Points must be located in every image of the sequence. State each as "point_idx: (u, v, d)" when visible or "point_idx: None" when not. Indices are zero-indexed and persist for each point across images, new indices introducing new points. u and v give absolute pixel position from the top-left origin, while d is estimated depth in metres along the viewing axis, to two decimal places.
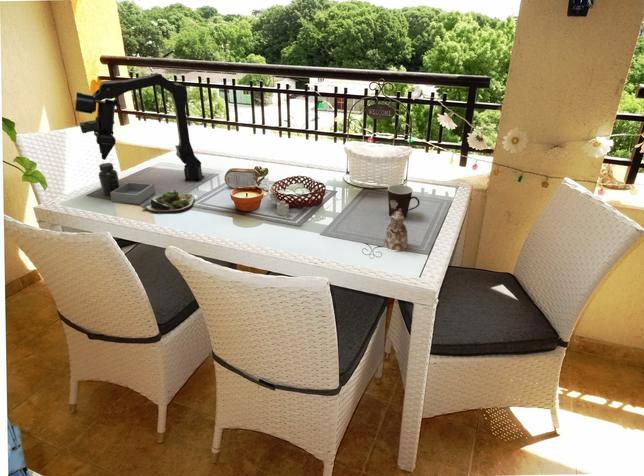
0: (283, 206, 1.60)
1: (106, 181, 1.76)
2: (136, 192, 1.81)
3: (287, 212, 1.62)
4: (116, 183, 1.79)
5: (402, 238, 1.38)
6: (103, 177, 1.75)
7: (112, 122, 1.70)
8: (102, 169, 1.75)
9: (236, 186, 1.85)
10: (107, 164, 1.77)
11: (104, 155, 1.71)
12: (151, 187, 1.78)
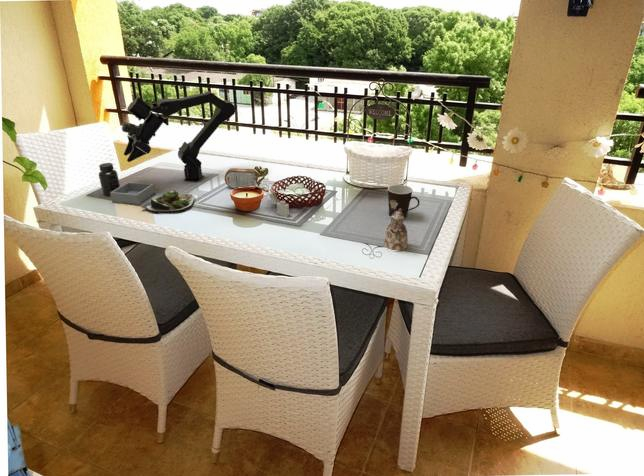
0: (283, 206, 1.60)
1: (106, 181, 1.76)
2: (136, 192, 1.81)
3: (287, 212, 1.62)
4: (116, 183, 1.79)
5: (402, 238, 1.38)
6: (103, 177, 1.75)
7: (153, 134, 1.78)
8: (102, 169, 1.75)
9: (236, 186, 1.85)
10: (107, 164, 1.77)
11: (130, 158, 1.75)
12: (151, 187, 1.78)
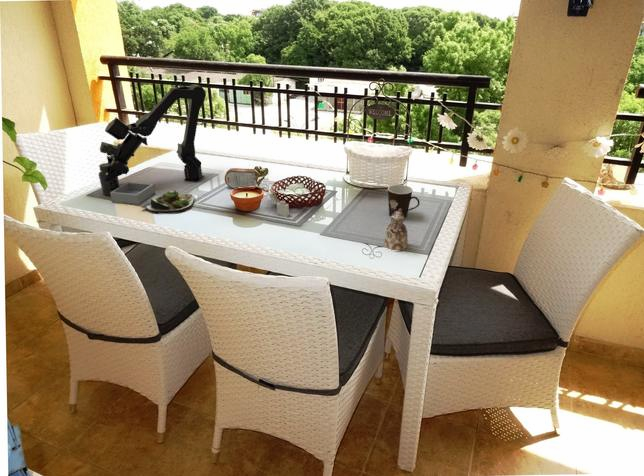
0: (283, 206, 1.60)
1: (105, 181, 1.76)
2: (136, 192, 1.81)
3: (287, 212, 1.62)
4: (116, 183, 1.79)
5: (402, 238, 1.38)
6: (102, 177, 1.75)
7: (132, 155, 1.77)
8: (102, 169, 1.75)
9: (236, 186, 1.85)
10: (107, 164, 1.77)
11: (108, 178, 1.75)
12: (151, 187, 1.78)
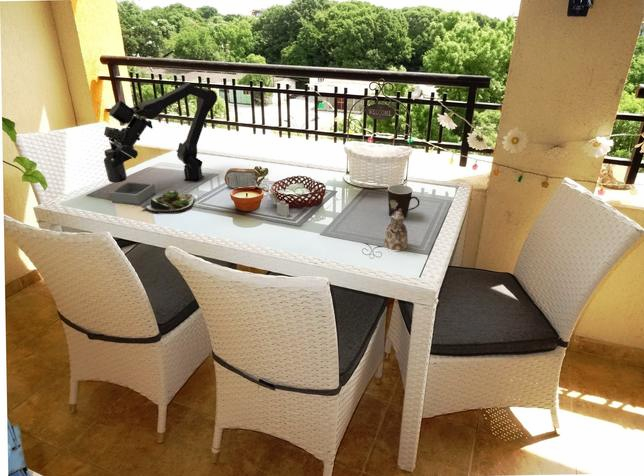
0: (283, 206, 1.60)
1: (112, 167, 1.71)
2: (136, 192, 1.81)
3: (287, 212, 1.62)
4: (123, 169, 1.74)
5: (402, 238, 1.38)
6: (109, 163, 1.70)
7: (138, 138, 1.73)
8: (108, 155, 1.70)
9: (236, 186, 1.85)
10: (112, 149, 1.71)
11: (115, 163, 1.70)
12: (151, 187, 1.78)
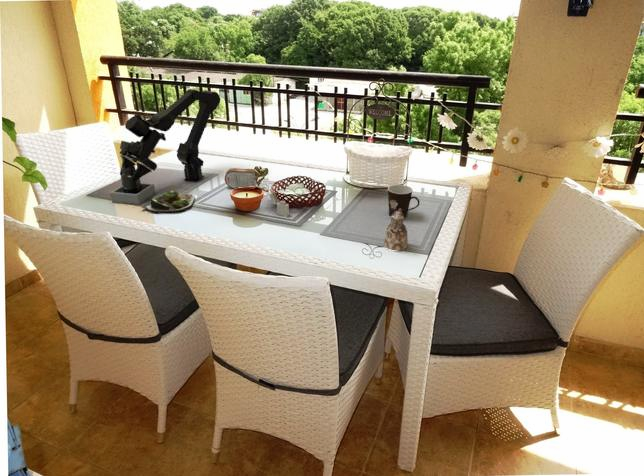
0: (283, 206, 1.60)
1: (131, 184, 1.72)
2: None
3: (287, 212, 1.62)
4: (140, 185, 1.75)
5: (402, 238, 1.38)
6: (128, 180, 1.71)
7: (153, 151, 1.75)
8: (127, 172, 1.70)
9: (236, 186, 1.85)
10: (129, 166, 1.72)
11: (135, 177, 1.70)
12: (151, 187, 1.78)
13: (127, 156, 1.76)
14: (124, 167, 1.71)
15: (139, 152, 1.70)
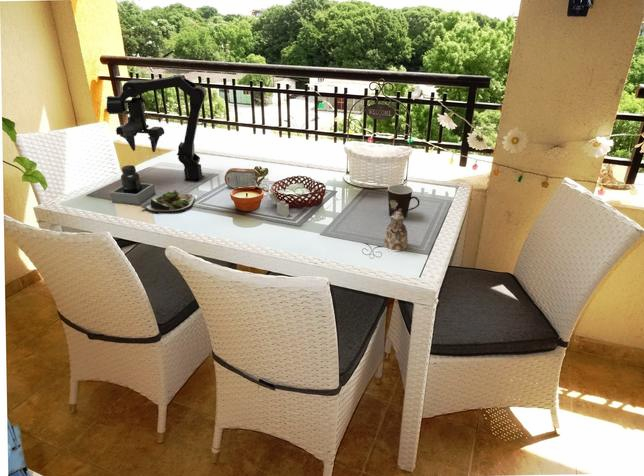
0: (283, 206, 1.60)
1: (131, 184, 1.72)
2: None
3: (287, 212, 1.62)
4: (140, 185, 1.75)
5: (402, 238, 1.38)
6: (128, 180, 1.71)
7: (145, 116, 1.83)
8: (127, 172, 1.70)
9: (236, 186, 1.85)
10: (129, 166, 1.72)
11: (154, 148, 1.87)
12: (151, 187, 1.78)
13: None
14: (124, 167, 1.71)
15: (141, 127, 1.80)
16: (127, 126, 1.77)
